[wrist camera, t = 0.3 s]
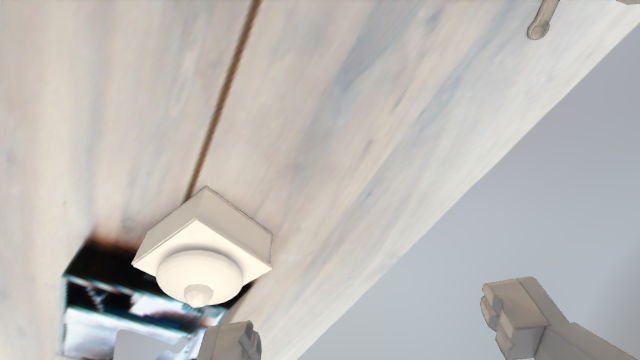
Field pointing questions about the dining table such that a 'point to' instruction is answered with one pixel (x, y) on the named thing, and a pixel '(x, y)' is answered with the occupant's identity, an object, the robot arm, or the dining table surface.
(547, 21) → the spoon
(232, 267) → the white square lidded jar
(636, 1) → the chalice
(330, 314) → the dining table surface
